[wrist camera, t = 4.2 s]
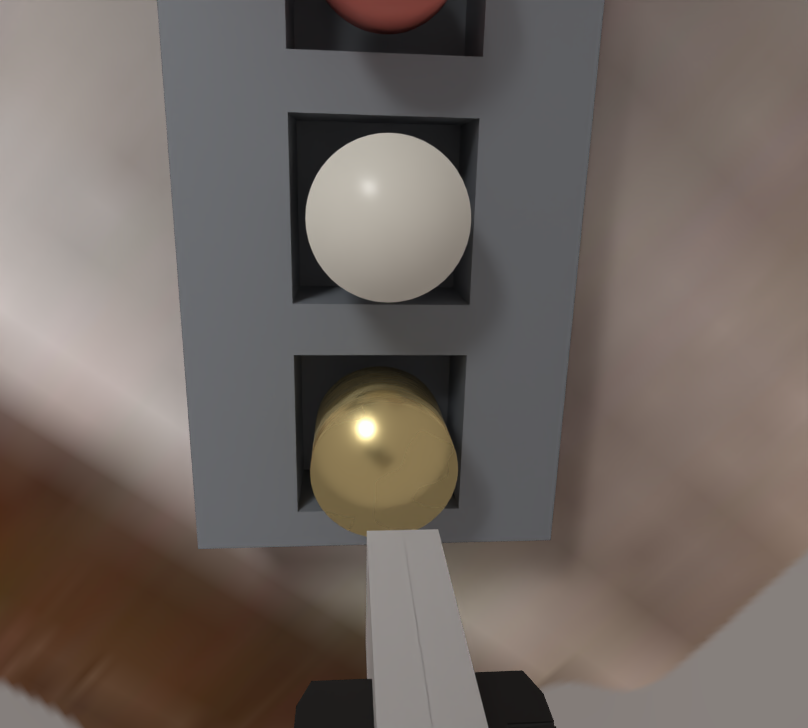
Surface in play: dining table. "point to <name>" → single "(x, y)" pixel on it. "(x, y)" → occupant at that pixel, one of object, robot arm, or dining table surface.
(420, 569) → the robot arm
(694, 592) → the dining table surface
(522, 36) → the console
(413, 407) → the gold rounded piece
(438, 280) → the ivory button
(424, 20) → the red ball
